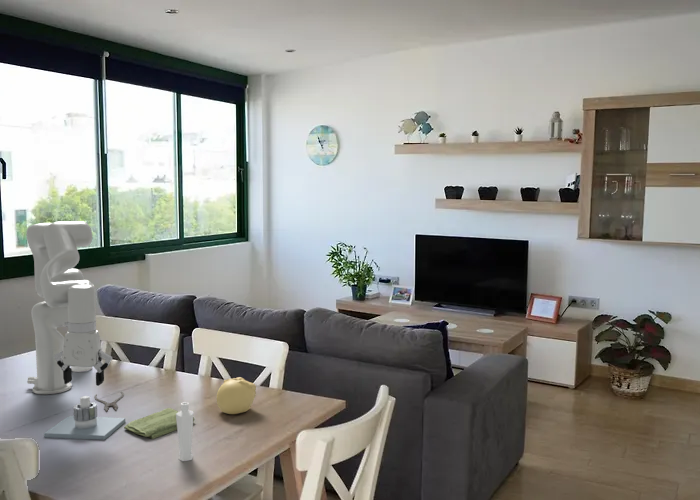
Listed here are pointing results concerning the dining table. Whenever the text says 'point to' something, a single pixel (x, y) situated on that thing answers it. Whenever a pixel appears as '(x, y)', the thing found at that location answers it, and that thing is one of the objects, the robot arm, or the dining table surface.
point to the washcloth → (155, 424)
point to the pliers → (112, 404)
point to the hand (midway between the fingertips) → (83, 383)
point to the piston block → (85, 426)
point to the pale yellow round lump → (235, 395)
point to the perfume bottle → (185, 432)
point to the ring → (85, 412)
